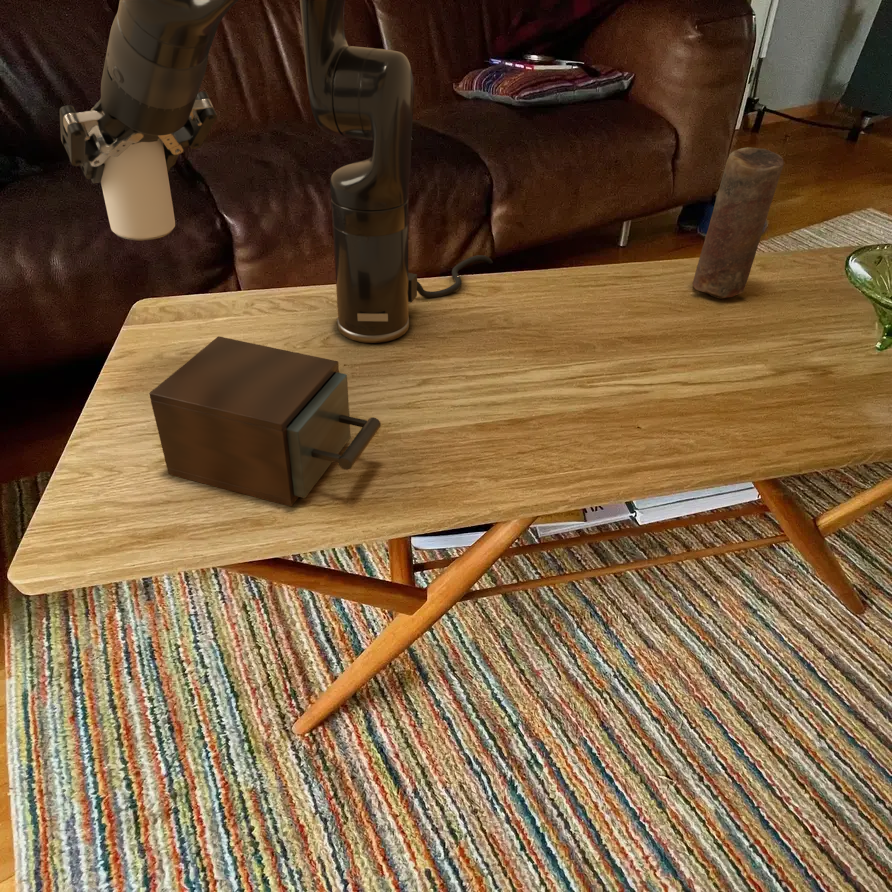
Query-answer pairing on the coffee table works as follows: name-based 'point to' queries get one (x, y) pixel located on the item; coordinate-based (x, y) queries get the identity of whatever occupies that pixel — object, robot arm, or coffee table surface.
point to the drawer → (325, 435)
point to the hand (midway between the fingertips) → (127, 169)
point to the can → (138, 192)
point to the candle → (737, 221)
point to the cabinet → (237, 415)
